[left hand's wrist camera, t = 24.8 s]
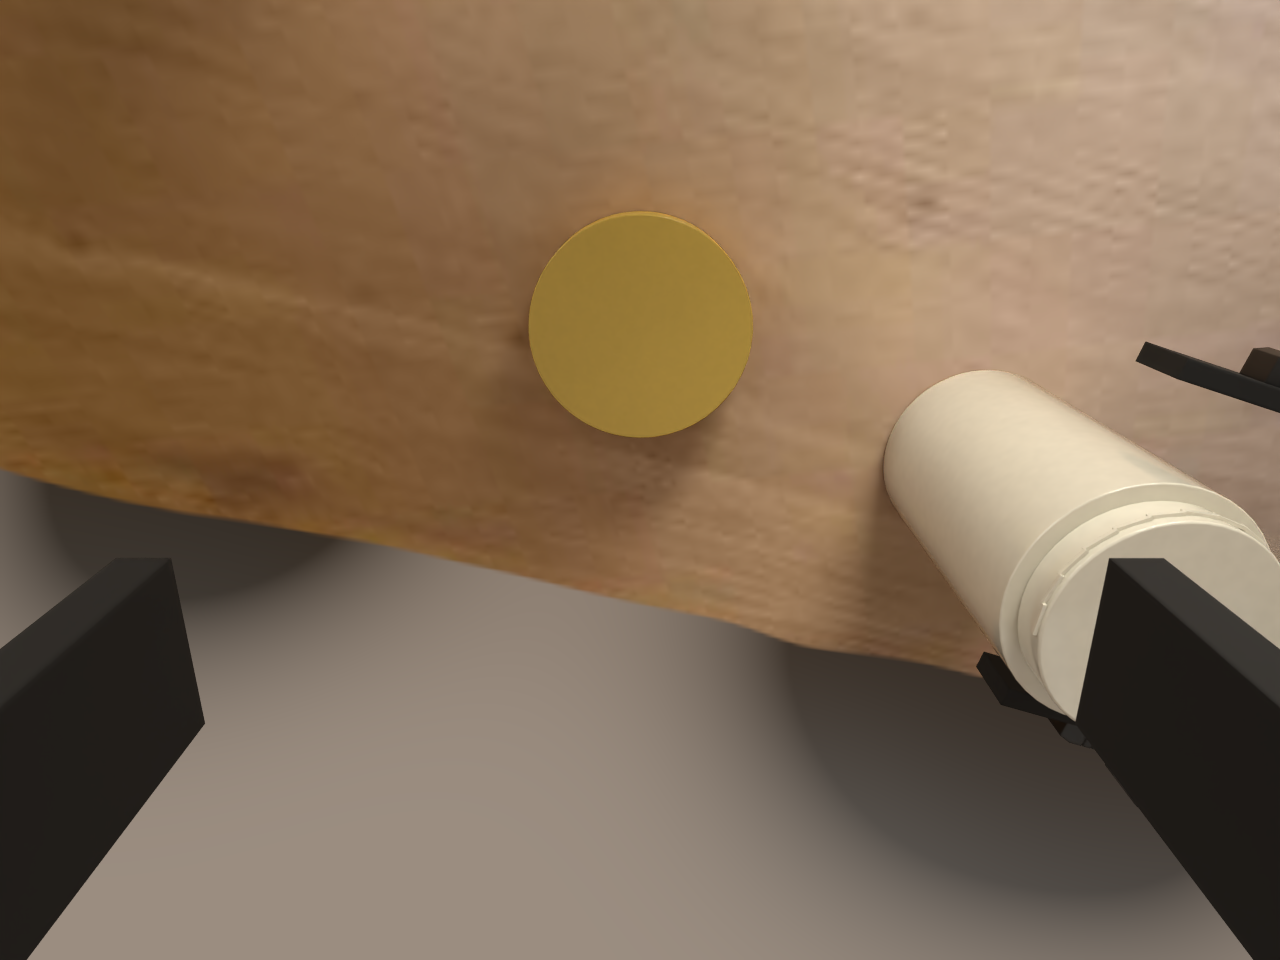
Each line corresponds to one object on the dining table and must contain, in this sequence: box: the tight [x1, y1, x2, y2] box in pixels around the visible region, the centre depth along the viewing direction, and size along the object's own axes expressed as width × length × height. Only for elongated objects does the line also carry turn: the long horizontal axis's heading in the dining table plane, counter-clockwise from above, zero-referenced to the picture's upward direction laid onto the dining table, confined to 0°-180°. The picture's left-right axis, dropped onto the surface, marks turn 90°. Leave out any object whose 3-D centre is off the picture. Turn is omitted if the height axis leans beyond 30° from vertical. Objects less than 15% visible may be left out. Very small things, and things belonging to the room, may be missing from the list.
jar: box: [883, 370, 1280, 721], centre depth 32 cm, size 8×8×15 cm
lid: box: [528, 211, 753, 438], centre depth 36 cm, size 9×9×2 cm
